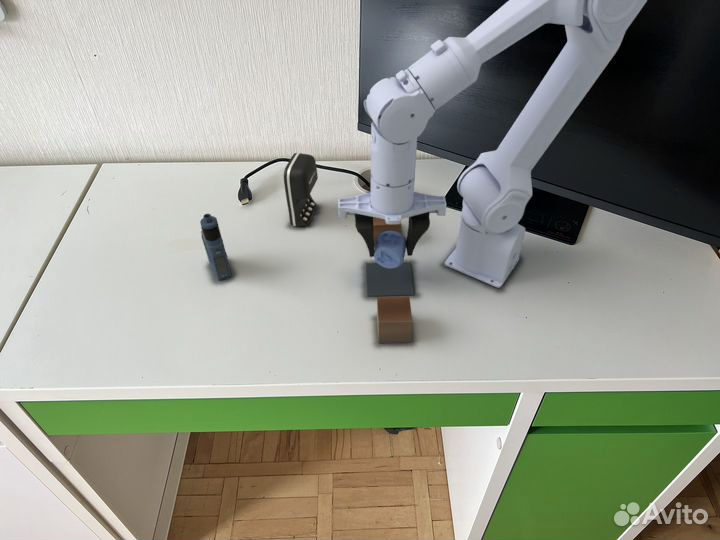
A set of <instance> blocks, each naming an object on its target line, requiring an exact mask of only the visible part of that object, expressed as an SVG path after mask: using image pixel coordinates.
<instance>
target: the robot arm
mask: <svg viewBox="0 0 720 540" xmlns="http://www.w3.org/2000/svg"><path fill="white" fill-rule="evenodd" d="M647 2H648V0H508V1H506V2H505V3H504V4H503V5H502V6H500V7H499V8H498V9H497V10H496V11H495V12H493V14H491V15H490V16H489V17H488V18H487V19H486V20H484V21H483V22H482V23H480V25H478V26H477V27H476V28H475V29H473V30H472V31H471V32H470V33H469V34H468V35H466V37H459V36H458V37H457V36H448V37H447V38H445V39H444V40H443V41H442V40H441V39H437V40H436V41H435V42H433V43H432V44H431V45H430V49H431V50H429V51H428V52H427V53H426V54H424V55H422V56H421V58H419V59H418V60H417V61H415V62H414V63H412V64H410V66H408V67H407V68H405V70H403V69H401V70H400V71H398V72H397V73H396V74H395V76H390V77H389V78H388V77H385V78H383V79H380V80H379V81H377V82H376V83H375V84H374V85H373V86H372V87H371V88H370V89H369V93H368V94H367V97H366V99H364V100H363V107H364V110H365V112H366V114H367V115H368V116H369V117H370V118H371V120H372V122H371V123H370V125H371V127H370V128H371V129H370V173H371V192H370V191H369V192H366V193H362V194H358V195H355V196H349V197H344V198H343V197H341V198H337V211H338V219H347V218H348V216H354V226H355V229H356V231H357V233H359V235H360V236H361V237H362V239H363V241H364V242H365V245H366V247H367V251H368V254H369V255H368V256H369V257H370V258H374V253H375V252H374V250H375V246H374V238H373V232H374V228H373V217H376V218H380V219H385V222H386V223H387V224H400V223H401V224H402V220H404V219H407V218H408V225H407V226H408V228H407V236H406V240H407V243H406V255H407V256H408V257H409V256H410V257H412V256H413V253H414V250H415V248H416V246H417V244H418V242H419V240H420V239H421V238H422V237H423V235H424V234H425V233H426V232H427V231H428V230H429V228H430V225H431V220H430V215H431V214H436V216H438V217H445V216H446V213H447V212H446V211H447V201H446V196H445V195H433V194H426V193H423V192H422V193H421V192H416V191H415V180H416V166H417V165H416V163H417V152H418V151H417V150H418V137H420V136H421V135H422V133H423V132H424V131H425V129H426V127H427V124H428V122H429V120H430V119H431V118H432V117H433V116H434V114H435V113H436V111H437V110H438V109H439V108H441V107H442V106H444V105H445V104H447V103H448V102H449V101H450V100H452V99H453V98H454V97H456V96H457V95H459V94H460V93H461V92H463V91H464V90H466V89H467V88H469V87H470V86H471V85H473V84H474V83H476V82H477V80H478V78H479V75H480V71H481V67H482V65H483V64H484V63H486V62H488V61H489V60H490V59H492V58H493V57H495V56H497V55H498V54H500V53H501V52H503V51H505V50H506V49H508V48H509V47H511V46H512V45H514V44H515V43H517V42H519V41H521V40H522V39H524V38H525V37H526V36H528V35H530V34H531V33H533V32H534V31H536V30H537V29H539V28H541V27H542V26H544V25H545V24H555V25H564V28H565V34H566V38H567V39H566V40H567V42H566V43H565V45H564V46H563V48H562V50H560V53H559V54H558V56H557V57H556V58H555V60H554V62H553V63H552V64H551V66H550V67H549V69H548V71H547V72H546V74H545V75H544V77H543V78H542V80H541V81H540V83H539V84H538V86H537V88H536V89H535V91H534V92H533V94H532V95H531V96H530V97H529V100H528V102H527V103H526V104H525V106H524V108H523V109H522V110H521V112H520V113H519V115H518V116H517V118H516V120H515V121H514V122H513V124H512V126H511V127H510V129H509V130H508V131H507V133H506V135H505V136H504V138H503V139H502V141H501V142H500V144H499V145H498V147H497V148H496V149H495V150H490V151H486V152H482V153H480V154H479V156H478V157H477V158H476V160H475V161H474V162H473V163H472V164H471V165H470V166H469V167H467V168H466V169H465V170H464V171H463V172H462V173H461V175H460V176H459V178H458V180H457V185H456V188H457V192H458V194H459V195H460V196H461V197H462V198H463V199H462V208H461V215H460V221H459V227H458V233H457V241H456V246H455V249H454V250H453V251H452V252H451V253H450V255H449V256H448V257H447V258H446V260H445V261H444V266H445V267H448V268H450V269H453V270H455V271H457V272H460V273H462V274H464V275H467V276H469V277H472V278H473V279H476V280H479V281H481V282H483V283H485V284H488V285H490V286H492V287H495V288H498V289H499V288H502V286H503V285H504V283H505V282H506V280H507V279H508V277H509V275H510V274H511V273H512V271H513V270H514V269H515V267H516V265H517V263H518V262H519V260H520V254H521V251H522V247H523V242H524V240H525V235H526V227H524V226H523V225H521V224H519V222H520V221H521V220H522V219H523V216H524V214H525V209H526V206H527V204H528V203H529V201H530V200H531V198H532V197H533V185H532V170H533V169H534V167H535V166H536V165H537V163H538V162H539V161H540V159H541V158H542V157H543V155H544V154H545V152H546V151H547V149H548V148H549V147H550V145H551V144H552V142H553V141H554V140H555V138H556V137H557V135H558V134H559V133H560V131H561V130H562V129H563V127H564V126H565V124H566V123H567V122H568V120H569V119H570V117H571V116H572V115H573V113H574V111H575V110H576V109H577V107H579V105H580V104H581V102H582V101H583V99H584V98H585V97H586V95H587V94H588V92H589V91H590V89H591V88H592V87H593V85H594V84H595V82H596V81H597V80H598V78H599V77H600V75H601V74H602V73H603V71H604V70H605V69H606V67H607V66H608V64H609V62H610V61H612V59H613V57H614V56H615V55H616V53H617V51H619V48H620V46H621V44H622V42H623V39H624V36H625V34H626V32H627V30H628V29H629V27H630V26H631V24H632V23H633V22H634V20H635V19H636V18H637V16H638V15H639V13H640V11H642V9H643V7H644V6H645V5H646V3H647Z"/></svg>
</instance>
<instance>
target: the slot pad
mask: <svg viewBox="0 0 720 540" xmlns="http://www.w3.org/2000/svg"><path fill="white" fill-rule="evenodd" d="M365 268H366V269H365V270H366V290H367V291H366V294H367V297H370V298H371V297H410V296H415V289H414V283H413V275H412V274H413V273H412V267H411V262H408V261H406V262H405V261H403V264H402V265H400V266H399V267H396V268H385V267H382V266H381V265H379V264H378V263H377V262H367V263H365Z"/></svg>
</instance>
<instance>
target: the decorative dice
mask: <svg viewBox="0 0 720 540" xmlns="http://www.w3.org/2000/svg"><path fill="white" fill-rule="evenodd" d="M406 243H407V237H405V236H404V235H403V234H402V233H401V234H400V233H398V232H396V231H385V232H383V233H381V234H379V235H378V237H377V240H376V244H375V246H374V252H375V253H374V257H373V259H374V261H375V263H378V264H379V265H381V266H382V267H385V268H396V267H399V266H400V265H402V264H403V262H405V261H404V260H405V258H406V257H405V256H406V253H407V248H406Z"/></svg>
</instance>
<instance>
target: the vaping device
mask: <svg viewBox="0 0 720 540" xmlns="http://www.w3.org/2000/svg"><path fill="white" fill-rule="evenodd" d="M199 224H200V228H201V231H200V234H201V241H202V243H203V246H204V250H205V253H206V256H207V260H208V262H209V263H210V266H211V269H212V272H213V273H214V275H215V278H216V279H217V280H218V281H223V280H227V279H229V278H230V277H232V275H233V274H232V270H231V267H230V262H229V259H228V254H227V251H226V247H225V245H224V240H223V237H222V234H221V229H220V226H219V222H218V218H217V217H216V216H213V215H211V214H210V213H205V214H204V215H203V217H202V218H201V219H200V221H199Z"/></svg>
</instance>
